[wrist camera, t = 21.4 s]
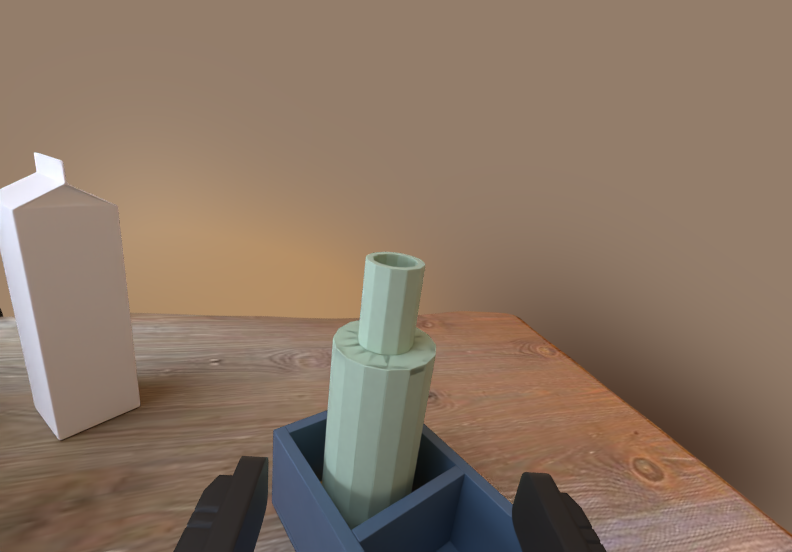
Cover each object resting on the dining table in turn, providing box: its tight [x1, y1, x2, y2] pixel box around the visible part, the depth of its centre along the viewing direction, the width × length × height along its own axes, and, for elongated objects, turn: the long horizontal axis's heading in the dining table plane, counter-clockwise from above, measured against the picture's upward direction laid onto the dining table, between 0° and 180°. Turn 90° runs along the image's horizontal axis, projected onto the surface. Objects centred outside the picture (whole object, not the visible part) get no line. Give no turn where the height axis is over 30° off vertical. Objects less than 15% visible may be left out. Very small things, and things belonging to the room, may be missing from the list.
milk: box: [0, 153, 140, 440], centre depth 30 cm, size 6×6×22 cm
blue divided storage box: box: [272, 410, 522, 552], centre depth 22 cm, size 10×18×7 cm, turn 38°
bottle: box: [322, 252, 436, 530], centre depth 23 cm, size 6×6×19 cm
